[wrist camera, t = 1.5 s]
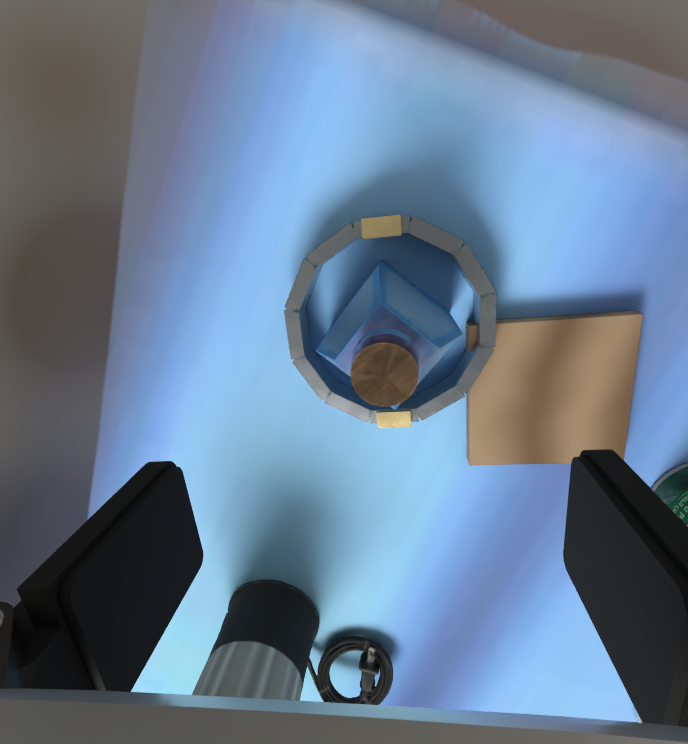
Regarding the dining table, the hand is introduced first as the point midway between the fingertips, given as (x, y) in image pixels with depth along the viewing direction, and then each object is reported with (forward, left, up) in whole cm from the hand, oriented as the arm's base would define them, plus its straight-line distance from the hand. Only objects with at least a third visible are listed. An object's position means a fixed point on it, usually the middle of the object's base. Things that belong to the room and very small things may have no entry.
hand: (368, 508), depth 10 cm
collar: (0, 0, -22) cm, 22 cm away
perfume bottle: (0, 0, -22) cm, 22 cm away
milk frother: (+10, +31, -22) cm, 39 cm away
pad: (-11, +6, -22) cm, 25 cm away
